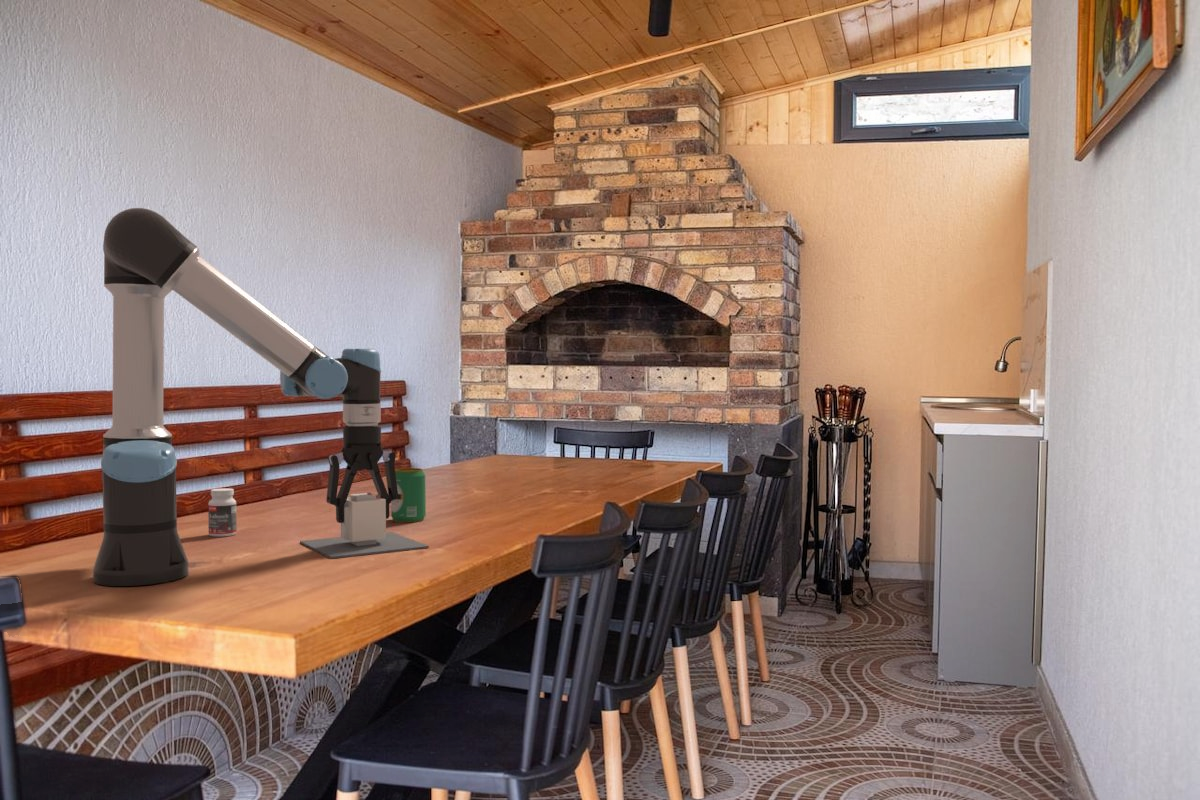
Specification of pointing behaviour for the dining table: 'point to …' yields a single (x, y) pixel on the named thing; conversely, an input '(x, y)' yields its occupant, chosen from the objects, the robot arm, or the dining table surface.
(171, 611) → the dining table surface
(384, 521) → the cream square sleeve
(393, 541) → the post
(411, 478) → the beverage can
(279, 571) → the dining table surface
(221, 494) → the pill bottle
